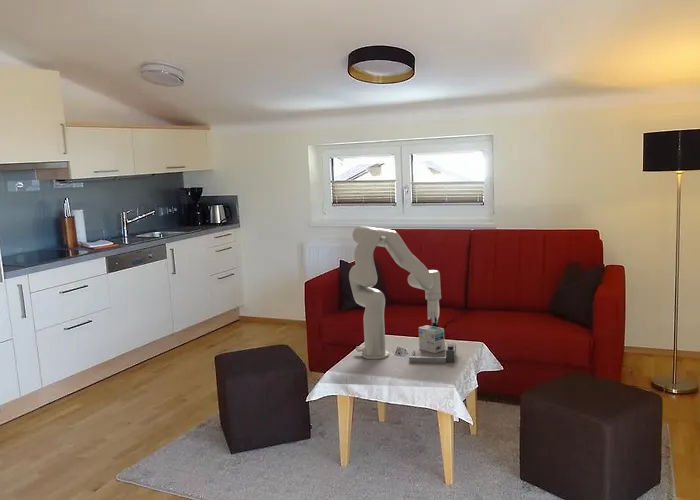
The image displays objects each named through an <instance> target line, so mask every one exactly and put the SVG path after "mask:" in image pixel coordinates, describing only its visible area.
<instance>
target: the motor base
mask: <svg viewBox="0 0 700 500" xmlns="http://www.w3.org/2000/svg"><path fill="white" fill-rule="evenodd" d="M445 349H446V350H445V352H444V356H442V357H441V356H415V355H416V350H415V349H414V350H412V352H411V354H410V355H409V357H408V360H409V361H408V363H410V364H413V363H414V364H442V365H443V364H444V365H445V364H447V363H451V364H452V363H455V361H456V357H457V343H456V342H448V343H447V345H446V348H445Z"/></svg>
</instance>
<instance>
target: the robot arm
mask: <svg viewBox="0 0 700 500" xmlns="http://www.w3.org/2000/svg"><path fill="white" fill-rule="evenodd" d="M352 238H353V239H352V240H353V241H354V242H355V243H357V244H356V247H355V250H354V254H353V257H354V262H355V264H354V265H352V267H351V268H350V270H349V272H348V280H349V284H350V288H351V292H352V296H353V300H354V302H355V304H358V305H359V306H361V307H362V308H364V313H363V317H362V318H363V320H362V321H363V336H364V337H363V338H364V345H362V346H360V345H359V346H357V345H356V347H355V351H357V352H358V353H359V352H360V353H361V352H362V353H361V357H362V358H364V359H366V360H382V359H385V358H388V357H389V356H390V353H389V351H388V350H386V335H385V334H386V332H385V331H386V330H385V307H386V297H385V294H384V292H382V291H381V290H379V289H377V288H374V286H376V284H378V283H377V282H378V273H377V269H376V265H375V260H374V251H375V249H376V247H382V248H385V249H386V251H387V252H388V253H389V255H390V257H391V258H392V259H393V260H394V262H395V263H396V264H397V265H398V266H399V268H401V269H403V270H406V271H407V272H408V273H410V274H409V275H408V276H407V283H408V285H409V286H410V287H412V288H415V289H419V290H423V291H424V293H425V294H424V295H425V296H424V297H425V300H426V301H427V305H426V306H427V320H428V321H430V320H431V321H430V322H431V325H430V326H434V327H439V317H440V300H441V299H442V290H441V274H440V271H439V270H437V269H428V268H427V267H426V265H425V264H424V263H423V262H421V261H420V259H418V257H416V256H415V255H414V254H413V253H412V251H410V249H409V247H408V246H407V244H406V243H405V242H404V240H403V239H402V237H401V236H400V234H399V233H398V232H397V231H396V230H392V229H387V228H377V227H371V226H366V225H359V226H357V227H355V228H354V229H353V231H352Z"/></svg>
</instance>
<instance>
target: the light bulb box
mask: <svg viewBox="0 0 700 500" xmlns="http://www.w3.org/2000/svg"><path fill="white" fill-rule="evenodd" d="M445 343H446V342H445V328H443V327H439V326H438V327H434V326H431V325H429V324H427V325H423V326H419V327H418V344H419V345H418V347H419V350H422V351H426V352H429V353H433V354H438V353H441V352H443V351H446V350H445V349H446V346H445Z"/></svg>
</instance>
